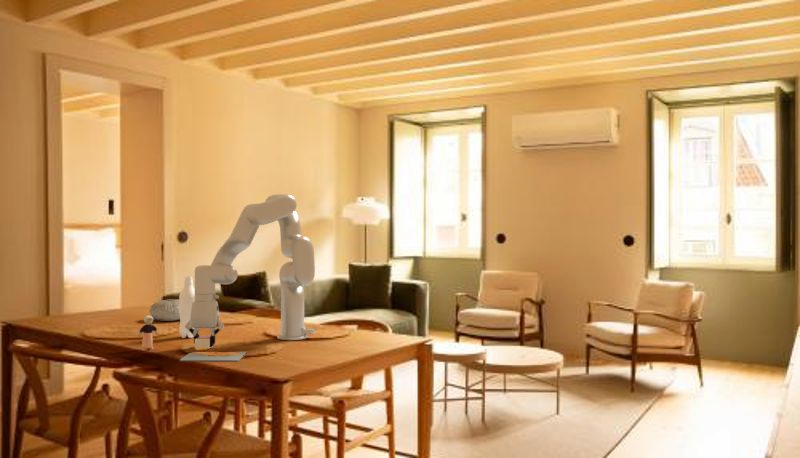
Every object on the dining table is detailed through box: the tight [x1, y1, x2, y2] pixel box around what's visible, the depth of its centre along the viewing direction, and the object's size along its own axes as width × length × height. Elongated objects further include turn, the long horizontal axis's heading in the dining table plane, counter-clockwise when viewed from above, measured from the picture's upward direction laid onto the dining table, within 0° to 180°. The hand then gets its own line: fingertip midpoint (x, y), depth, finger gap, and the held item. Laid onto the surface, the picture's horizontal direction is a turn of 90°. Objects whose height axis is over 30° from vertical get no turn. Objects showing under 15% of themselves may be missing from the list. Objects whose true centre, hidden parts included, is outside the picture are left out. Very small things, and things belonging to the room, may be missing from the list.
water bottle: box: [178, 276, 195, 339], centre depth 266 cm, size 7×7×25 cm
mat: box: [179, 351, 247, 363], centre depth 228 cm, size 20×14×1 cm
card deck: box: [194, 335, 211, 349], centre depth 244 cm, size 5×8×4 cm, turn 1°
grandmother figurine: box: [137, 314, 159, 351], centre depth 241 cm, size 8×4×13 cm, turn 148°
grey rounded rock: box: [149, 298, 180, 322], centre depth 310 cm, size 18×18×10 cm
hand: (204, 345), depth 244 cm, fingers closed on card deck, 4 cm apart
